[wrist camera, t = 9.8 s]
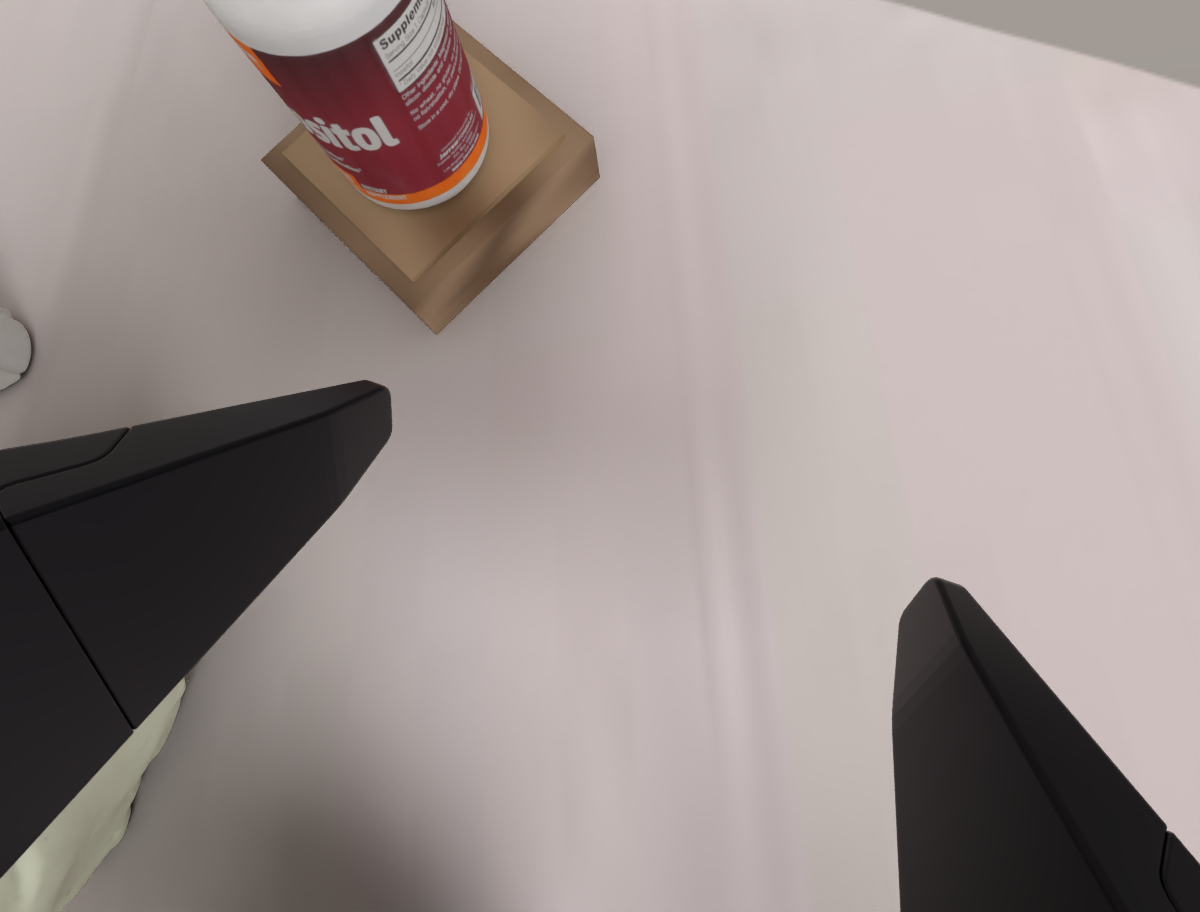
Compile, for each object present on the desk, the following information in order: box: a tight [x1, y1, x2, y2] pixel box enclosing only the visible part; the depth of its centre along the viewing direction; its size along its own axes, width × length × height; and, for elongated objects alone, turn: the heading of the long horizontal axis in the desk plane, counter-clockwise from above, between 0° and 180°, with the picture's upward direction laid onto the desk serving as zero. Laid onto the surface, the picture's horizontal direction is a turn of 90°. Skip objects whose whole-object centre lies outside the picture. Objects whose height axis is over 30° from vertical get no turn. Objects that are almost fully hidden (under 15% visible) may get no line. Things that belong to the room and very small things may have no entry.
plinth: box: [261, 20, 600, 335], centre depth 25 cm, size 10×10×3 cm
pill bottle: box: [204, 0, 489, 210], centre depth 18 cm, size 6×6×11 cm
